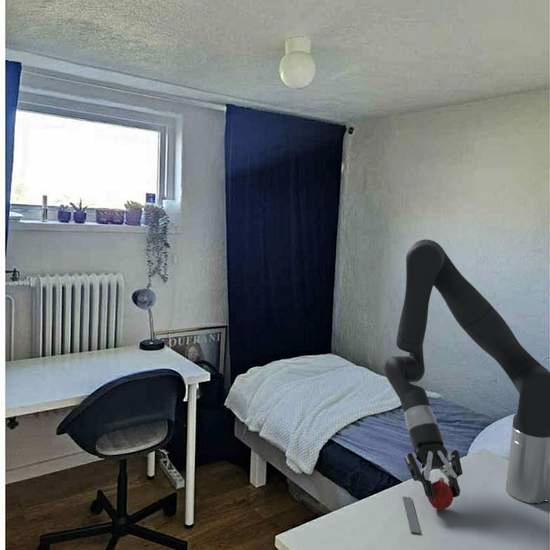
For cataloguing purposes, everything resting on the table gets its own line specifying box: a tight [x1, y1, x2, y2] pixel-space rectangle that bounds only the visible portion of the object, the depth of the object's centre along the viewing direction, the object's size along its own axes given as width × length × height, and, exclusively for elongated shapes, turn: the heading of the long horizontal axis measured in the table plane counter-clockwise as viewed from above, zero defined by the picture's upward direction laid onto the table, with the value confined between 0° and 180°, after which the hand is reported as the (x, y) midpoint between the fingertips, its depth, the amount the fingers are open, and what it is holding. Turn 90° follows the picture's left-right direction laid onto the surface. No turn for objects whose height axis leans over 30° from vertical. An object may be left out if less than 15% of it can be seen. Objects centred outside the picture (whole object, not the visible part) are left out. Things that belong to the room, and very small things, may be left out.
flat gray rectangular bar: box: [402, 496, 422, 535], centre depth 114 cm, size 2×14×1 cm, turn 173°
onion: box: [427, 476, 454, 511], centre depth 117 cm, size 6×6×8 cm
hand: (444, 497), depth 115 cm, fingers closed on onion, 5 cm apart
